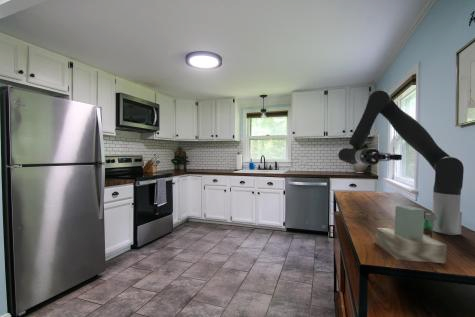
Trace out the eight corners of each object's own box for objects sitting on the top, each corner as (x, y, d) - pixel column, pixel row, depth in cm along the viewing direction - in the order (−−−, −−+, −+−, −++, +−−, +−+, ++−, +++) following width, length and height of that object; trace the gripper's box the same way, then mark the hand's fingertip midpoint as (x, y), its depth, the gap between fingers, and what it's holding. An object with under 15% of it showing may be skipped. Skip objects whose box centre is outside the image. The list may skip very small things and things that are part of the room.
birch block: (414, 246, 90) (415, 230, 90) (445, 264, 75) (446, 245, 75) (374, 243, 92) (375, 227, 91) (397, 260, 77) (398, 241, 76)
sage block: (408, 232, 86) (409, 206, 86) (422, 238, 81) (424, 209, 81) (394, 233, 85) (395, 205, 85) (408, 238, 80) (409, 209, 80)
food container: (442, 241, 95) (444, 216, 95) (424, 240, 97) (426, 214, 96) (425, 232, 107) (426, 209, 107) (409, 230, 109) (410, 208, 108)
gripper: (353, 148, 115) (374, 147, 99) (381, 149, 117) (408, 148, 100) (352, 164, 116) (374, 165, 99) (381, 165, 117) (407, 166, 100)
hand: (391, 157), depth 100 cm, fingers open, 8 cm apart
